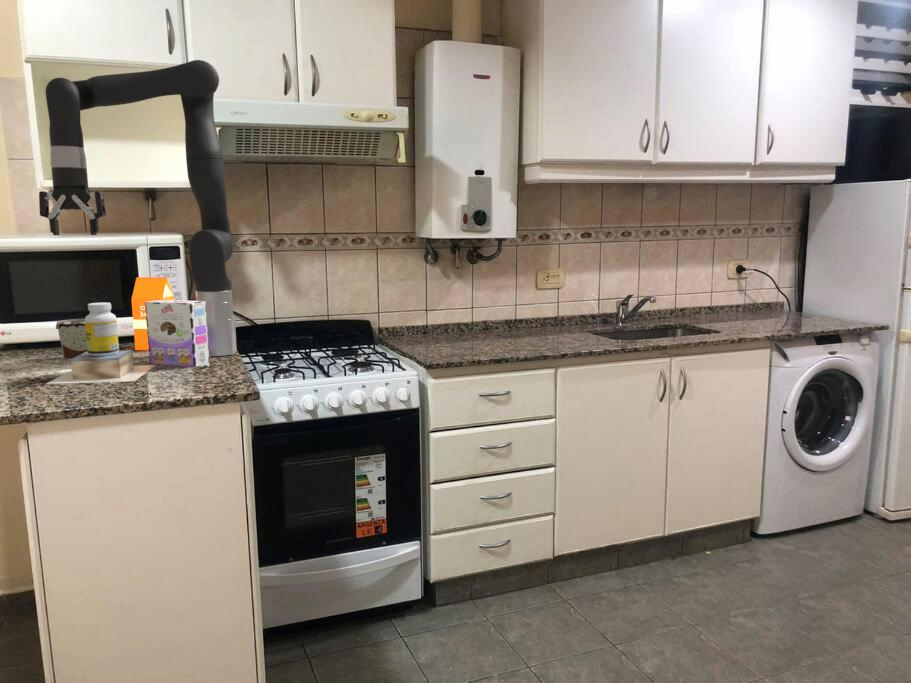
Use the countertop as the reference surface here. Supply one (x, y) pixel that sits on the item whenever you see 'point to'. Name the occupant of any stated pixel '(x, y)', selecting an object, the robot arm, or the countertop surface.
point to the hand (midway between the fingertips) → (75, 235)
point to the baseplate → (130, 376)
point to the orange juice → (143, 293)
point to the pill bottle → (101, 330)
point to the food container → (72, 337)
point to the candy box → (177, 332)
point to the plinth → (102, 365)
